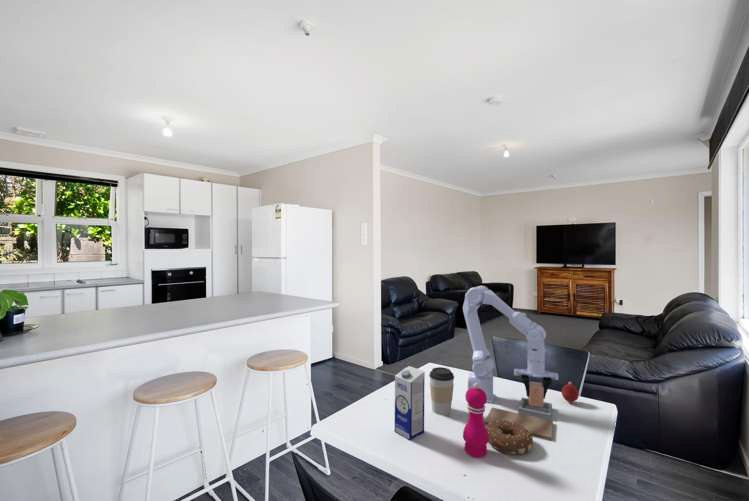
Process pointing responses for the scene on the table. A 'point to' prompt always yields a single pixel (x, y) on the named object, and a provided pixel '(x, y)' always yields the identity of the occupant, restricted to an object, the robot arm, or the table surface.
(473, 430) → the pepper mill
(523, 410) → the collar
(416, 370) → the milk carton
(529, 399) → the peach cube with handle
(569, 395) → the onion
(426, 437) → the table surface
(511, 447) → the donut
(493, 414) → the board
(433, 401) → the coffee cup
